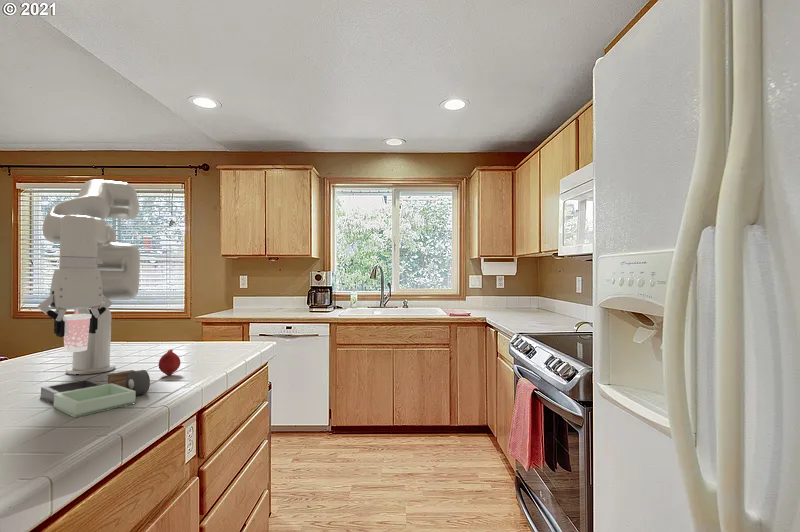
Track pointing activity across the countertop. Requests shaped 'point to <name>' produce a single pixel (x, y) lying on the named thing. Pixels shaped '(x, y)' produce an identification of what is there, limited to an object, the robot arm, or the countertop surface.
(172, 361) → the onion
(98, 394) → the tray
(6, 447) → the countertop surface
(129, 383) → the caster wheel
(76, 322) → the beverage cup
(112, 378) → the block
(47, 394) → the socket ring
